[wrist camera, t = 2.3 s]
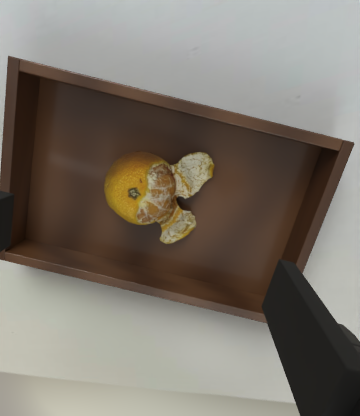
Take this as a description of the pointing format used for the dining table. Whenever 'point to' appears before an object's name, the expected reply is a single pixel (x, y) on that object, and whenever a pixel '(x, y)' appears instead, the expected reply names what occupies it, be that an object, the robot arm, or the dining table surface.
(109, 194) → the fruit
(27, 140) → the bin
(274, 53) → the dining table surface
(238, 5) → the dining table surface
